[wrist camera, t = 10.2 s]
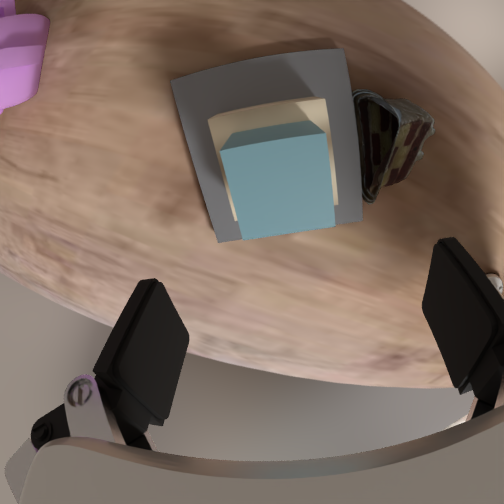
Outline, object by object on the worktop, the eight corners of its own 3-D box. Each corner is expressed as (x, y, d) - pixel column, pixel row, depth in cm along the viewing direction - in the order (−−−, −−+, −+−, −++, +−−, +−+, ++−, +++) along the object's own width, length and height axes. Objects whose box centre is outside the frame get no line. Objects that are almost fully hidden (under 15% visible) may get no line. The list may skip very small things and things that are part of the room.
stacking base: (359, 214, 29) (375, 243, 25) (220, 236, 32) (211, 267, 27) (339, 50, 20) (358, 41, 15) (175, 80, 22) (151, 81, 17)
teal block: (320, 191, 22) (335, 226, 17) (248, 202, 23) (242, 240, 18) (310, 120, 19) (325, 133, 14) (232, 133, 20) (219, 150, 15)
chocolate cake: (412, 195, 28) (473, 145, 16) (365, 209, 28) (425, 153, 16) (376, 129, 30) (417, 65, 18) (329, 137, 29) (363, 62, 18)
